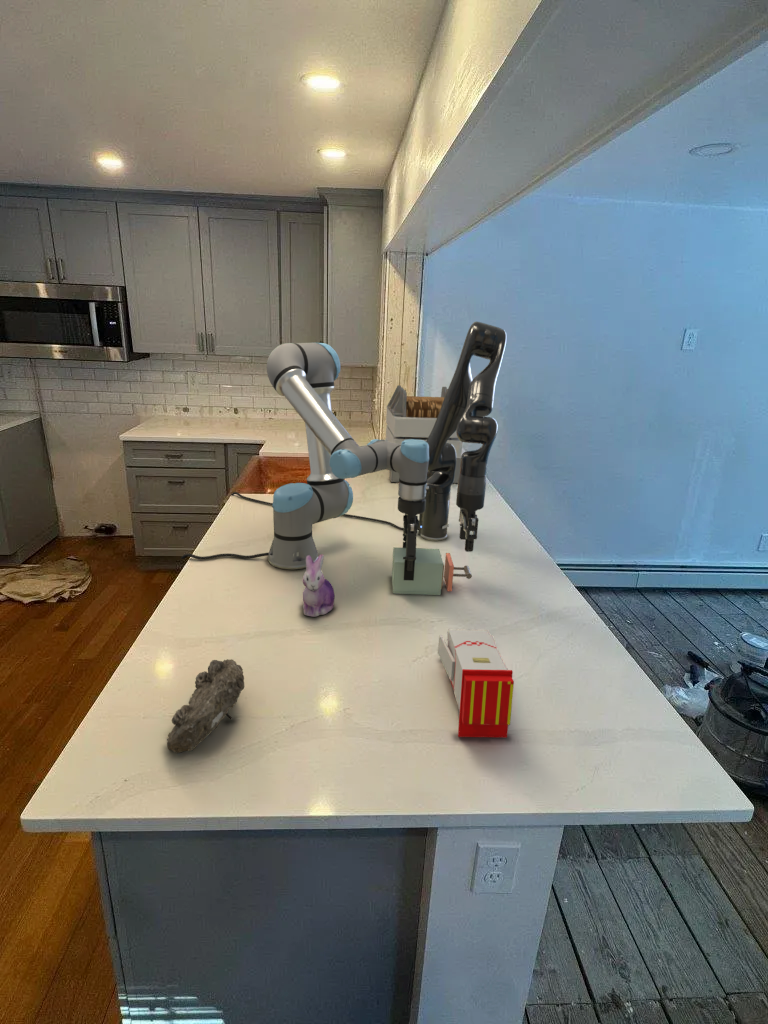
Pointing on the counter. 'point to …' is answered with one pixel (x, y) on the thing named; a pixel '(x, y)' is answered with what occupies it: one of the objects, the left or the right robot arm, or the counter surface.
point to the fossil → (206, 705)
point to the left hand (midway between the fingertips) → (407, 571)
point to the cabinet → (418, 572)
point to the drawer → (449, 572)
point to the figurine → (316, 589)
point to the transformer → (416, 422)
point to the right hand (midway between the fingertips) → (465, 545)
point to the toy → (478, 682)
